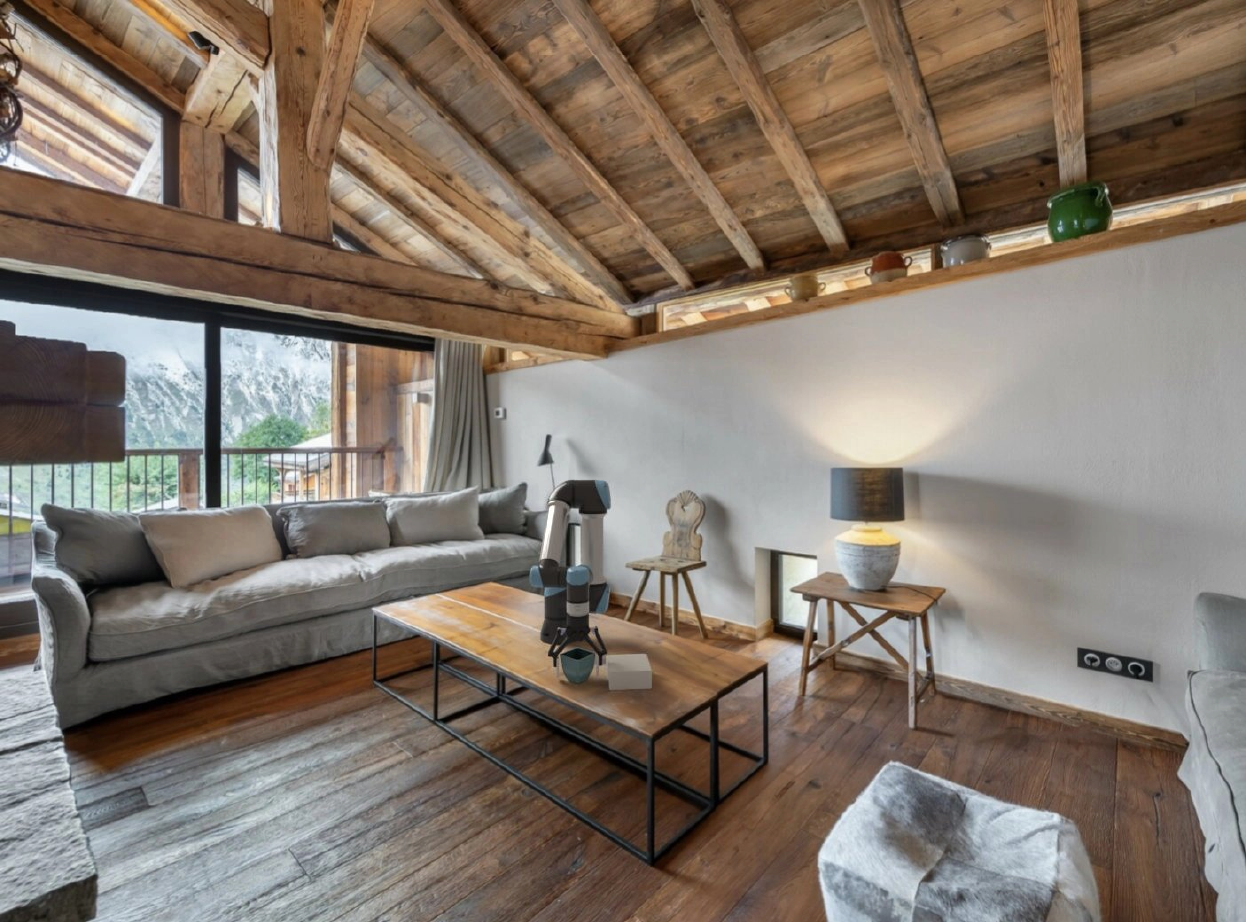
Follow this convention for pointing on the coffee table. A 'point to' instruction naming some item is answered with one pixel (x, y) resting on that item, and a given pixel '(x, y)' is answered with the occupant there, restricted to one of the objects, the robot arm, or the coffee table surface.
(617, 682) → the stone slab
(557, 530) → the robot arm
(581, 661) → the flower pot
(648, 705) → the coffee table surface
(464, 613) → the coffee table surface
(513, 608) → the coffee table surface
